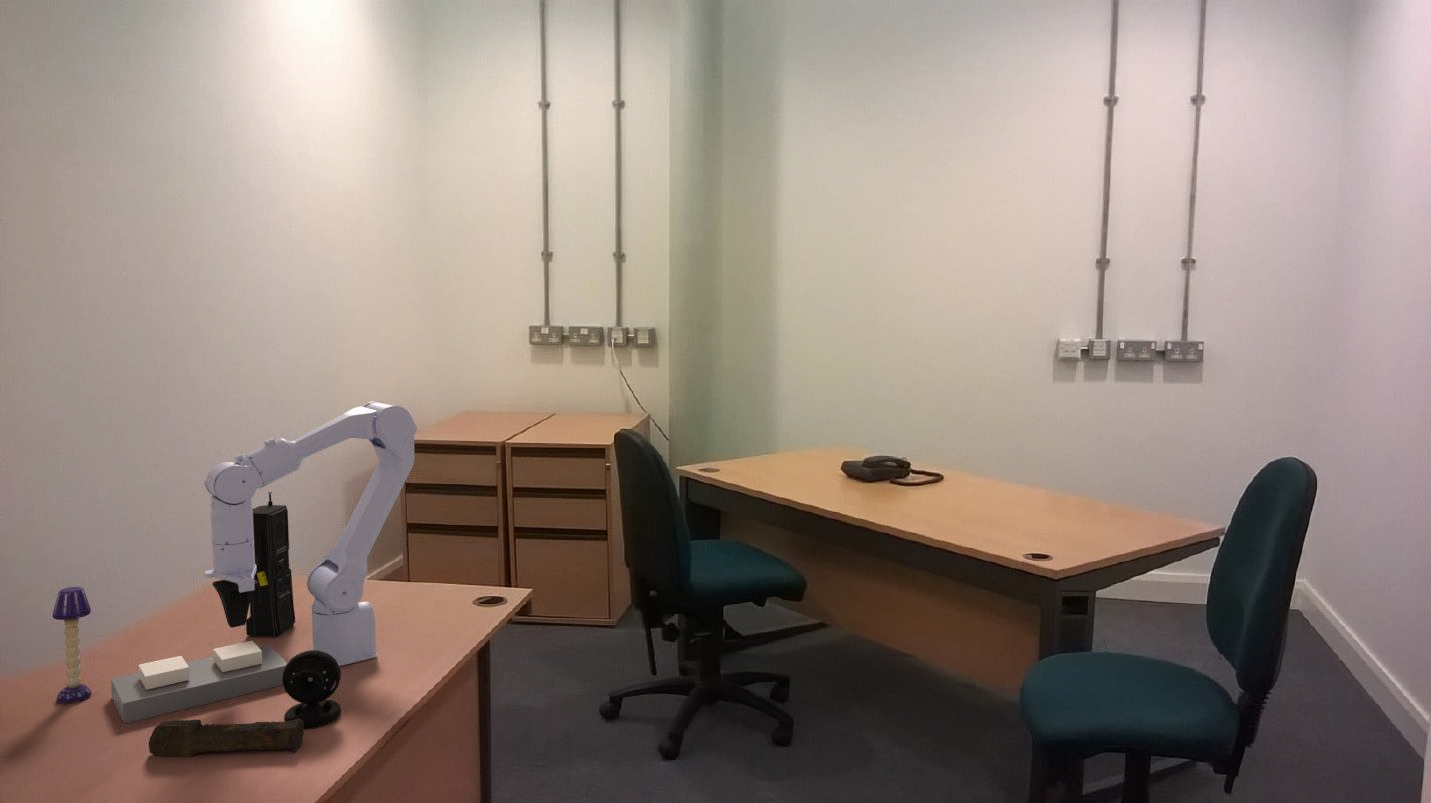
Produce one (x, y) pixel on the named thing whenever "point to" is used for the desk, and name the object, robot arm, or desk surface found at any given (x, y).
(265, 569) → the portable radio
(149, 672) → the cap
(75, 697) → the toy lamp
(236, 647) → the cap
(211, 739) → the hand tool
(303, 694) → the webcam
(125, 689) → the panel
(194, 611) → the desk surface
